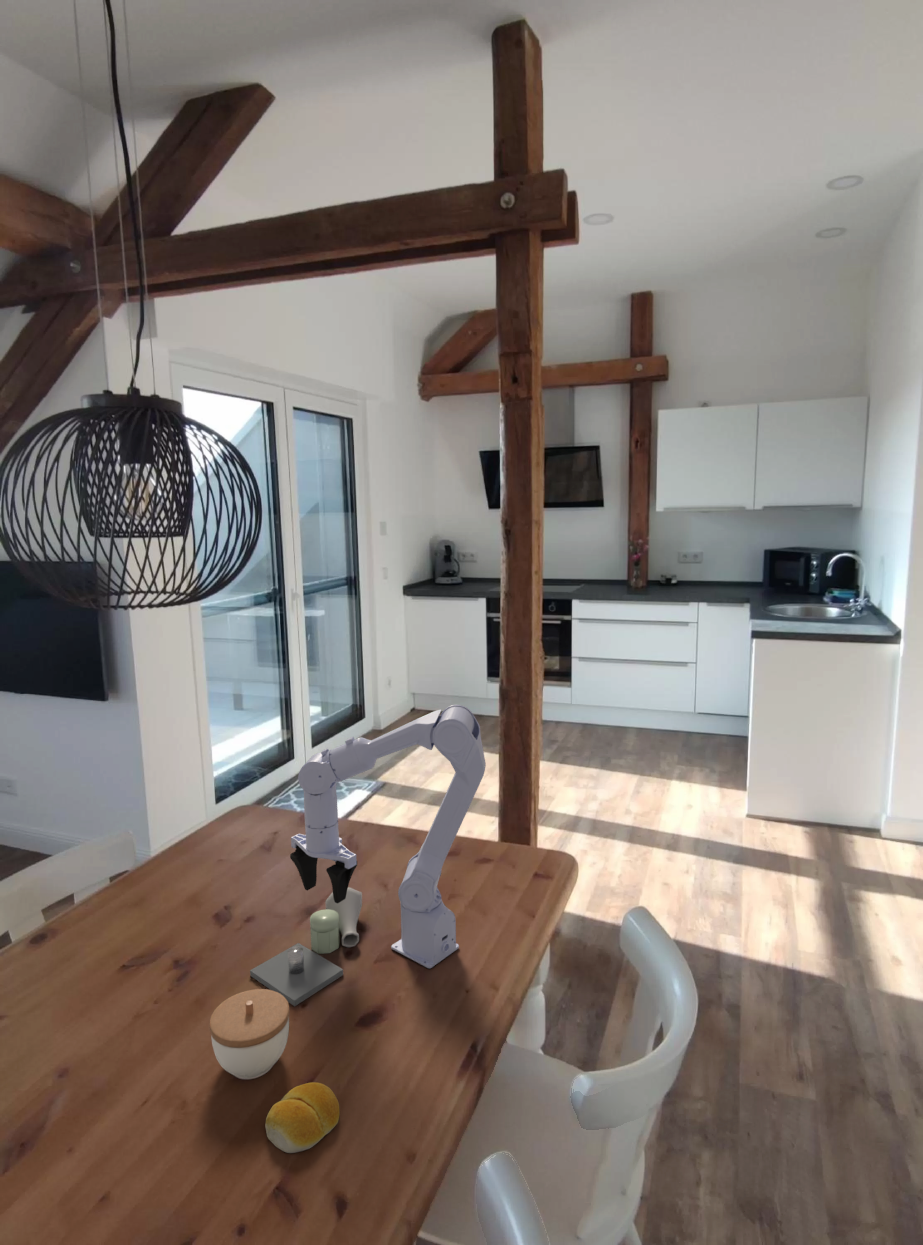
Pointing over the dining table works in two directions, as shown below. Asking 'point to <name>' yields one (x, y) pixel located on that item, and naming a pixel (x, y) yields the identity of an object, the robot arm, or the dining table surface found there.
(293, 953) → the stub
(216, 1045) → the lidded jar
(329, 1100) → the bread roll
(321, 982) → the mat
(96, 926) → the dining table surface
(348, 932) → the flask
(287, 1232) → the dining table surface
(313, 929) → the cap
